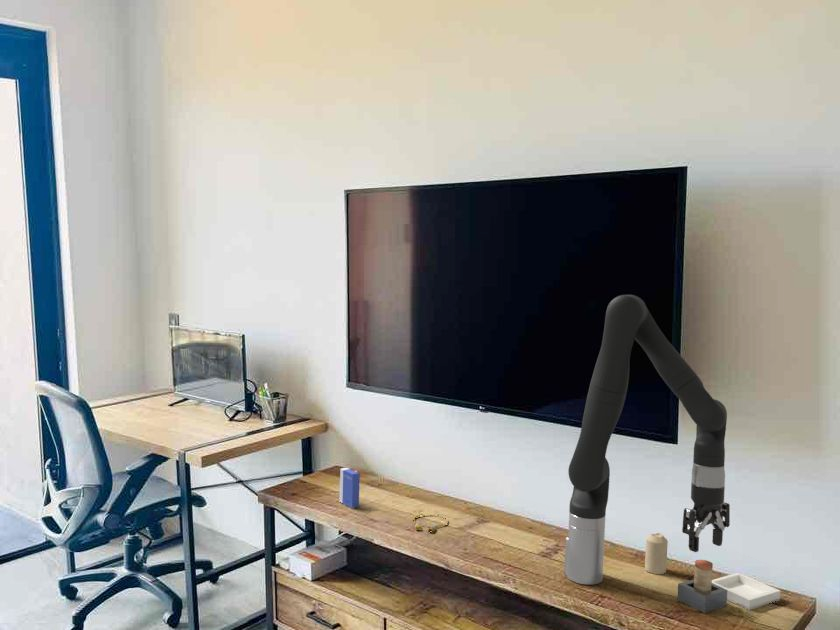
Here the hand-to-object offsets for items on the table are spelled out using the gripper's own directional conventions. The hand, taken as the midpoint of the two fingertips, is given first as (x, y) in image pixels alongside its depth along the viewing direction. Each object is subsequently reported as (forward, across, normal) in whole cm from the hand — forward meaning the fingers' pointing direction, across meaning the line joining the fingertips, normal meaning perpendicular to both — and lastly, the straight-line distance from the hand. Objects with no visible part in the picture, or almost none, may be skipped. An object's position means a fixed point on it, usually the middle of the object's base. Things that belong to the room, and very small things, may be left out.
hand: (705, 547), depth 177 cm
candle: (+14, -5, -19) cm, 24 cm away
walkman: (+12, +47, -104) cm, 115 cm away
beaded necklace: (+13, +32, -77) cm, 85 cm away
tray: (+14, -13, +2) cm, 19 cm away
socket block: (+14, 0, 0) cm, 14 cm away
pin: (+14, 0, 0) cm, 14 cm away
